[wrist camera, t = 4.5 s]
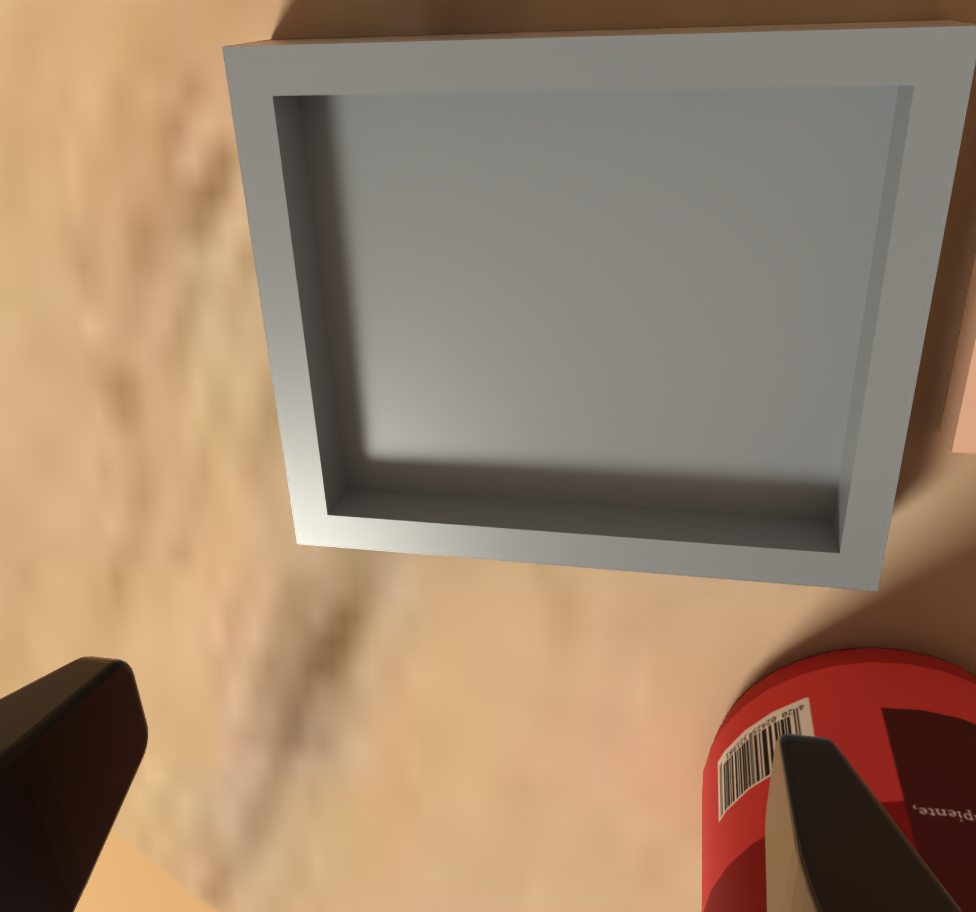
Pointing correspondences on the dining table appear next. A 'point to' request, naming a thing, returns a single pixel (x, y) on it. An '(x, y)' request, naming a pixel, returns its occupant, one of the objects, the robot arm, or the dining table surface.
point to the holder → (963, 382)
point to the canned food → (870, 750)
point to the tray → (602, 287)
